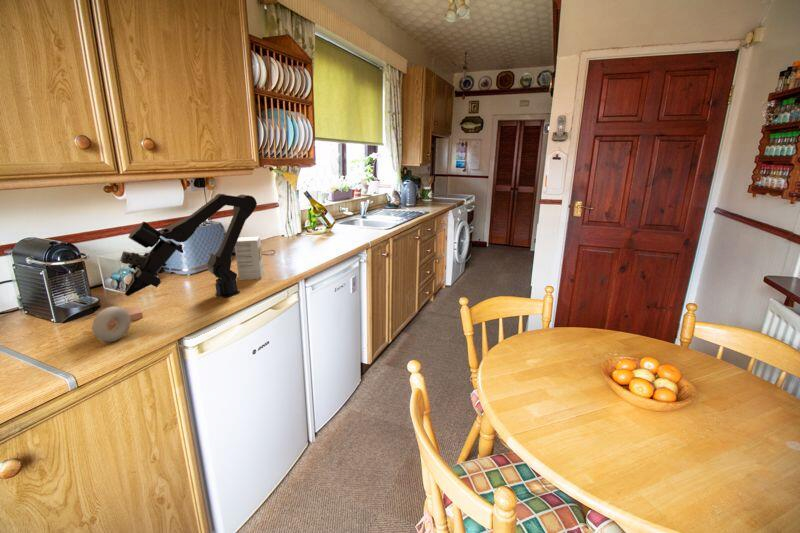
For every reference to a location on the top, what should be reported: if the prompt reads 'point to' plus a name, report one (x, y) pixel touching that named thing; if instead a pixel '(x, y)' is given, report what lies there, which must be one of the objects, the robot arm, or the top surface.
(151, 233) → the robot arm
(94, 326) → the donut
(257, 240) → the supplement box
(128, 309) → the terracotta tile
